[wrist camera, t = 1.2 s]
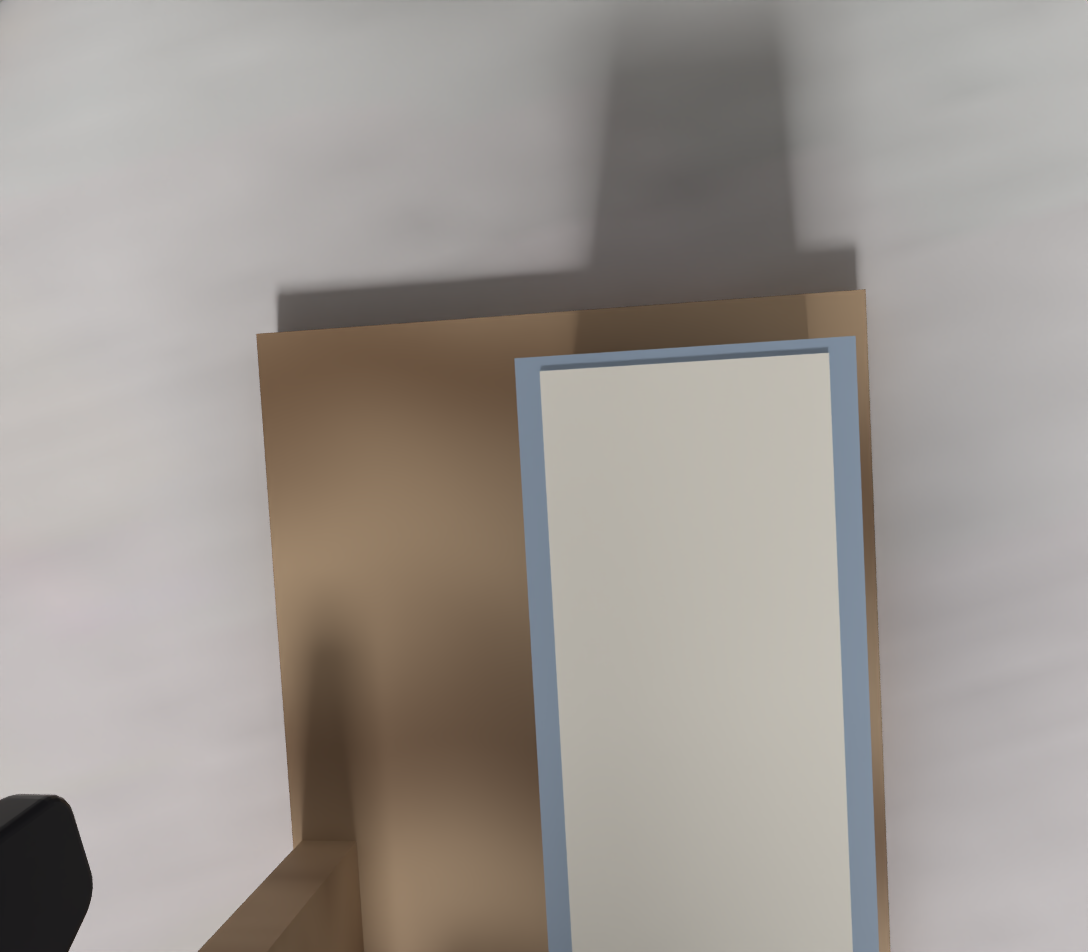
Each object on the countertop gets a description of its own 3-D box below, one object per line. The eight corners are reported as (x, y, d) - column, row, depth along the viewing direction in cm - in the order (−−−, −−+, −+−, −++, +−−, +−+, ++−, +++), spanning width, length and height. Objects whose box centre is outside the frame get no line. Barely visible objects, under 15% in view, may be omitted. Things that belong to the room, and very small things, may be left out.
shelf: (893, 1225, 21) (965, 1547, 15) (337, 1186, 23) (208, 1457, 17) (857, 295, 20) (921, 247, 14) (276, 337, 22) (115, 311, 16)
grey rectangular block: (809, 357, 19) (856, 335, 13) (828, 806, 20) (880, 982, 14) (572, 373, 20) (513, 358, 14) (595, 805, 20) (548, 970, 14)
